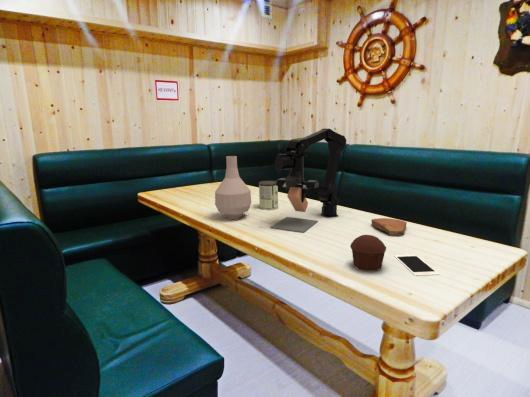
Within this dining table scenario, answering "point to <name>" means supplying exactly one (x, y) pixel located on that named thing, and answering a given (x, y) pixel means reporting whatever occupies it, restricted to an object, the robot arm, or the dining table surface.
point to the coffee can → (268, 195)
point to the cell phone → (416, 265)
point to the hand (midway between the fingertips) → (297, 201)
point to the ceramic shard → (390, 226)
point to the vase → (232, 192)
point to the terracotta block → (297, 199)
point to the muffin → (368, 252)
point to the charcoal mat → (294, 224)
